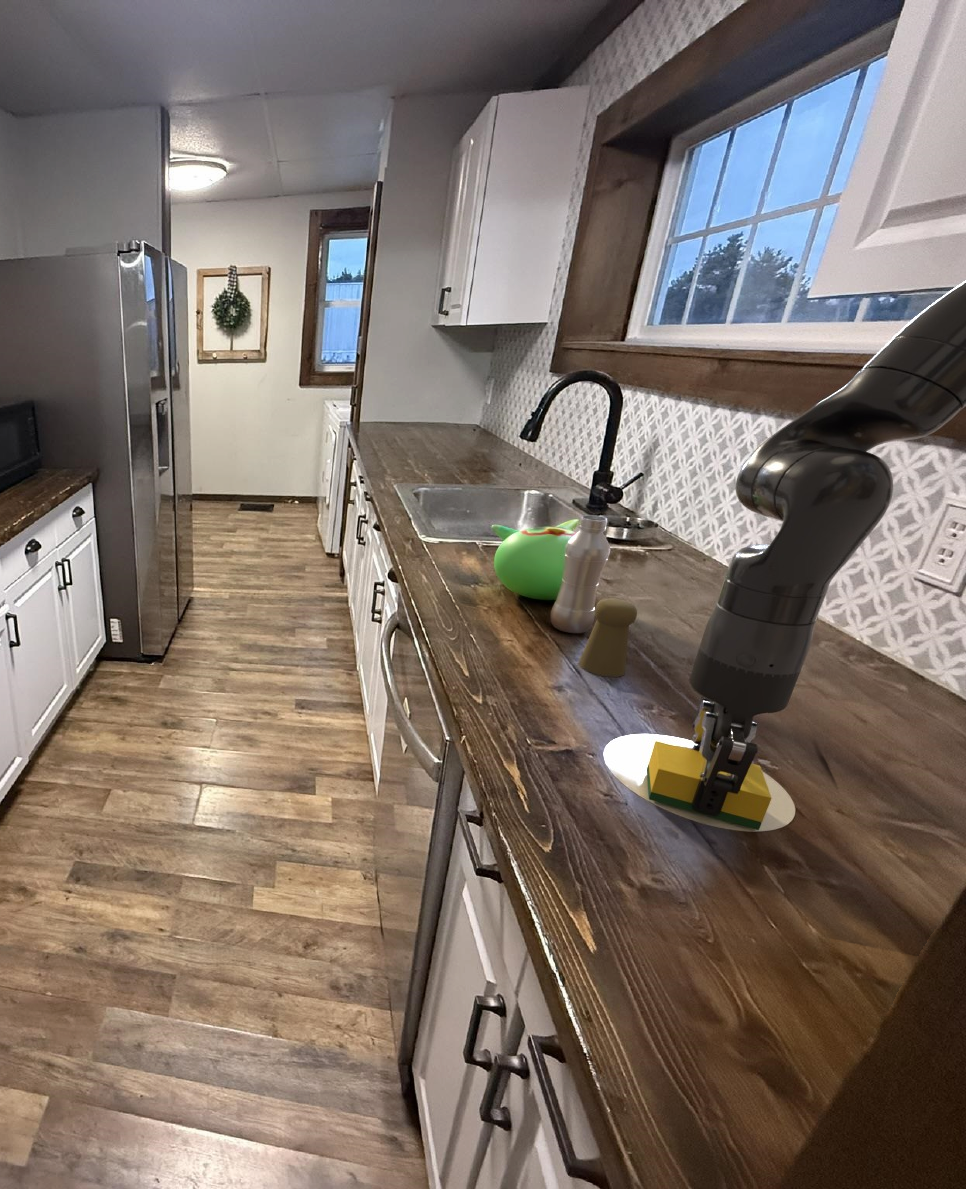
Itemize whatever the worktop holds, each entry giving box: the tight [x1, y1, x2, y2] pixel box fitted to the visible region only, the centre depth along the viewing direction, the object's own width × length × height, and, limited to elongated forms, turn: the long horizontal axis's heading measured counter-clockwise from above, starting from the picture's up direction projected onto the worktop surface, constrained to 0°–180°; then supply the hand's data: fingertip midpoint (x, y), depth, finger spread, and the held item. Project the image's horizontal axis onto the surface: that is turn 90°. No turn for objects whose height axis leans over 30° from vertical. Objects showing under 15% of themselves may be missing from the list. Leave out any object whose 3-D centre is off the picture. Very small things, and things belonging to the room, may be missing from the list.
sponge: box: [646, 741, 772, 830], centre depth 67 cm, size 9×6×4 cm, turn 57°
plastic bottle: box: [550, 514, 611, 634], centre depth 106 cm, size 6×7×20 cm
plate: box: [603, 733, 796, 833], centre depth 71 cm, size 22×22×1 cm
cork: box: [578, 597, 638, 678], centre depth 95 cm, size 6×6×11 cm
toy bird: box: [491, 518, 580, 601], centre depth 122 cm, size 18×17×15 cm
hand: (700, 793), depth 67 cm, fingers closed on sponge, 6 cm apart
